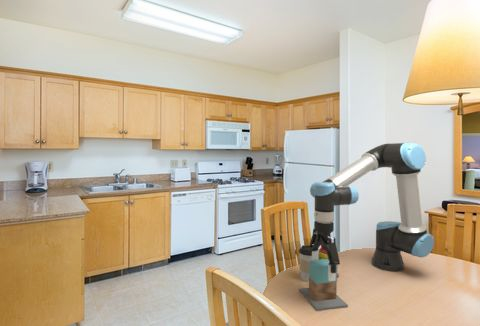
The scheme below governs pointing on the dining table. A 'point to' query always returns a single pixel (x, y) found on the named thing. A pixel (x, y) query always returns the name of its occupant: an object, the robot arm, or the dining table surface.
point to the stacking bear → (323, 255)
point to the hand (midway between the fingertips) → (322, 273)
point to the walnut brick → (322, 290)
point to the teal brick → (320, 271)
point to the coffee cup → (305, 261)
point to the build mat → (325, 303)
